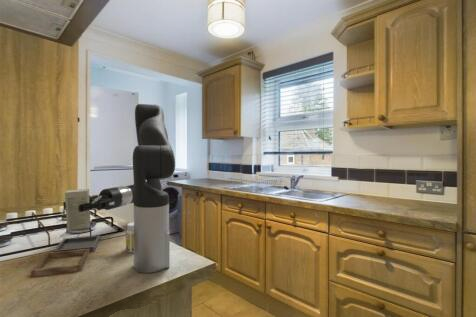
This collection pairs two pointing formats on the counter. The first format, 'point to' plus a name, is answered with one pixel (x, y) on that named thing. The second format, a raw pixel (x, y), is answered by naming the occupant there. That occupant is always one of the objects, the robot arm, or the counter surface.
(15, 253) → the counter surface
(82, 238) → the charcoal seat plate
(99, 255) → the counter surface
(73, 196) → the skincare box
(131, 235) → the supplement bottle
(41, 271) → the frame
